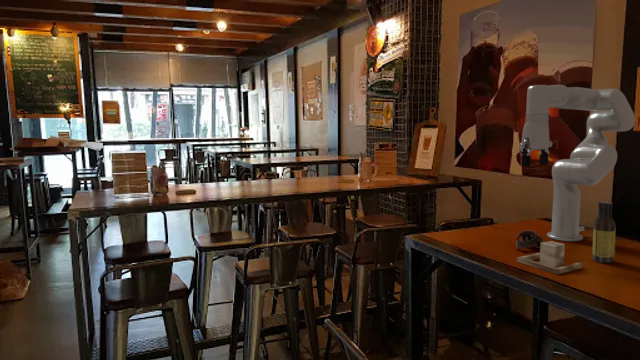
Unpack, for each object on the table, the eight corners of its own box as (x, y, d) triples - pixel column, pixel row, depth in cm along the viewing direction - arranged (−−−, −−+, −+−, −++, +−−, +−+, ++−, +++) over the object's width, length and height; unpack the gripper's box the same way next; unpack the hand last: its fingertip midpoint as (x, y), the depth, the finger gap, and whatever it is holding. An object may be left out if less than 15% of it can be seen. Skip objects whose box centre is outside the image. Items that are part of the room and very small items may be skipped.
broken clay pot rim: (551, 254, 157) (544, 236, 155) (525, 265, 159) (518, 247, 157) (537, 237, 169) (530, 220, 166) (513, 247, 171) (505, 231, 168)
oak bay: (541, 256, 154) (541, 252, 154) (582, 268, 141) (582, 263, 141) (516, 261, 148) (517, 257, 148) (556, 274, 135) (556, 269, 135)
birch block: (549, 261, 149) (550, 240, 148) (563, 265, 144) (564, 244, 143) (539, 263, 146) (540, 242, 145) (553, 267, 142) (554, 246, 141)
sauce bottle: (618, 262, 146) (623, 203, 143) (602, 264, 144) (607, 204, 142) (602, 257, 152) (606, 200, 149) (586, 258, 150) (590, 201, 148)
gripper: (543, 119, 170) (541, 163, 172) (512, 119, 162) (510, 166, 164) (561, 119, 163) (559, 165, 165) (530, 119, 155) (528, 167, 158)
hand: (534, 165), depth 165 cm, fingers open, 9 cm apart
